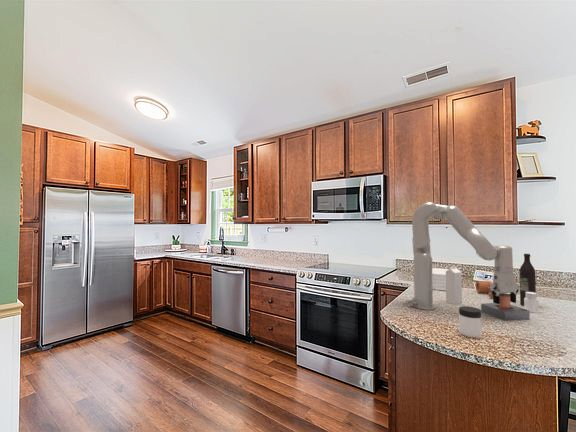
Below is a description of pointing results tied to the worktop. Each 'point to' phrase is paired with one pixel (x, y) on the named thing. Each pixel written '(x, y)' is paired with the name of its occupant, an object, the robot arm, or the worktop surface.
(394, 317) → the worktop surface
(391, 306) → the worktop surface
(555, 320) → the worktop surface
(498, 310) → the bore housing
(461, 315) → the jar
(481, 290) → the crank
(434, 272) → the plate stack
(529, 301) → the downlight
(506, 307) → the orange grey-topped cylinder
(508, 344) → the worktop surface
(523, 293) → the wine bottle
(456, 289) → the milk
